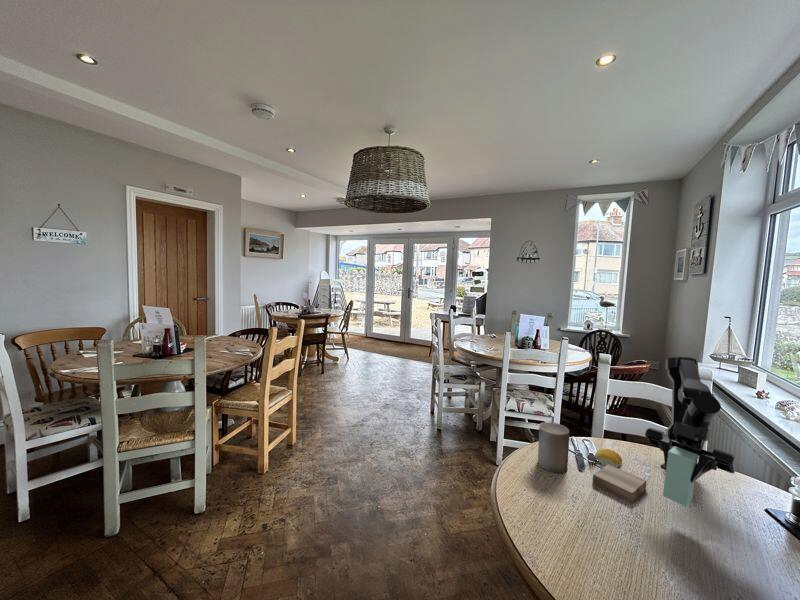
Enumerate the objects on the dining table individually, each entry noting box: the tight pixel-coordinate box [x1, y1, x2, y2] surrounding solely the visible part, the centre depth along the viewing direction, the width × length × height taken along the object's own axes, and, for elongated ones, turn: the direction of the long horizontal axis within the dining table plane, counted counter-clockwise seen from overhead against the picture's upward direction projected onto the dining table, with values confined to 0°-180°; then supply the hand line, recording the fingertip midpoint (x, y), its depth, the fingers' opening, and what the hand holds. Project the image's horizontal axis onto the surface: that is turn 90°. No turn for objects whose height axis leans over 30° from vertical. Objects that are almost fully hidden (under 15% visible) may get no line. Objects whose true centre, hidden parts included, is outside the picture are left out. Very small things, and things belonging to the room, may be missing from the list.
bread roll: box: [594, 448, 623, 468], centre depth 121 cm, size 8×9×4 cm
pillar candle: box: [537, 421, 570, 474], centre depth 116 cm, size 10×10×15 cm
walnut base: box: [592, 464, 647, 503], centre depth 106 cm, size 11×11×3 cm
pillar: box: [662, 446, 699, 508], centre depth 90 cm, size 5×5×13 cm
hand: (678, 476), depth 89 cm, fingers closed on pillar, 5 cm apart
